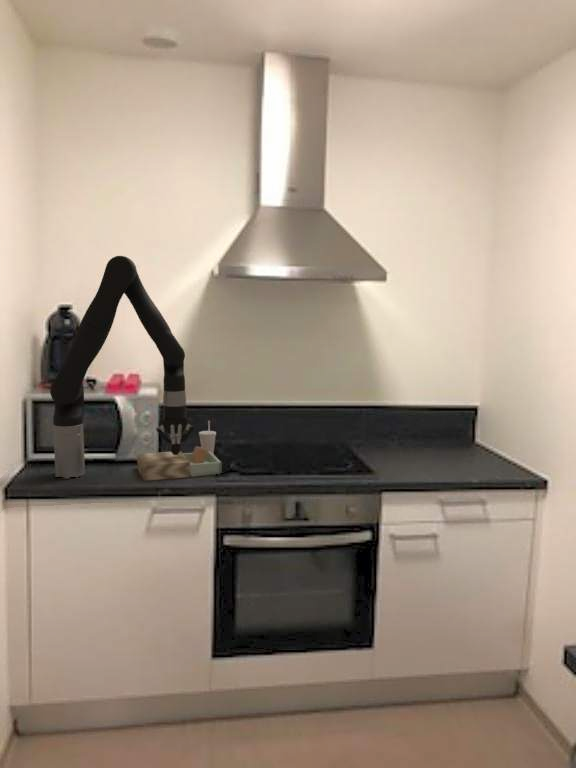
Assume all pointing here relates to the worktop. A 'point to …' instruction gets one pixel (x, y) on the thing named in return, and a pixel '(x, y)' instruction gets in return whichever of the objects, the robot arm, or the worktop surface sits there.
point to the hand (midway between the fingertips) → (175, 454)
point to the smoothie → (207, 439)
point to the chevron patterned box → (163, 465)
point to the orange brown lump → (198, 455)
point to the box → (205, 465)
